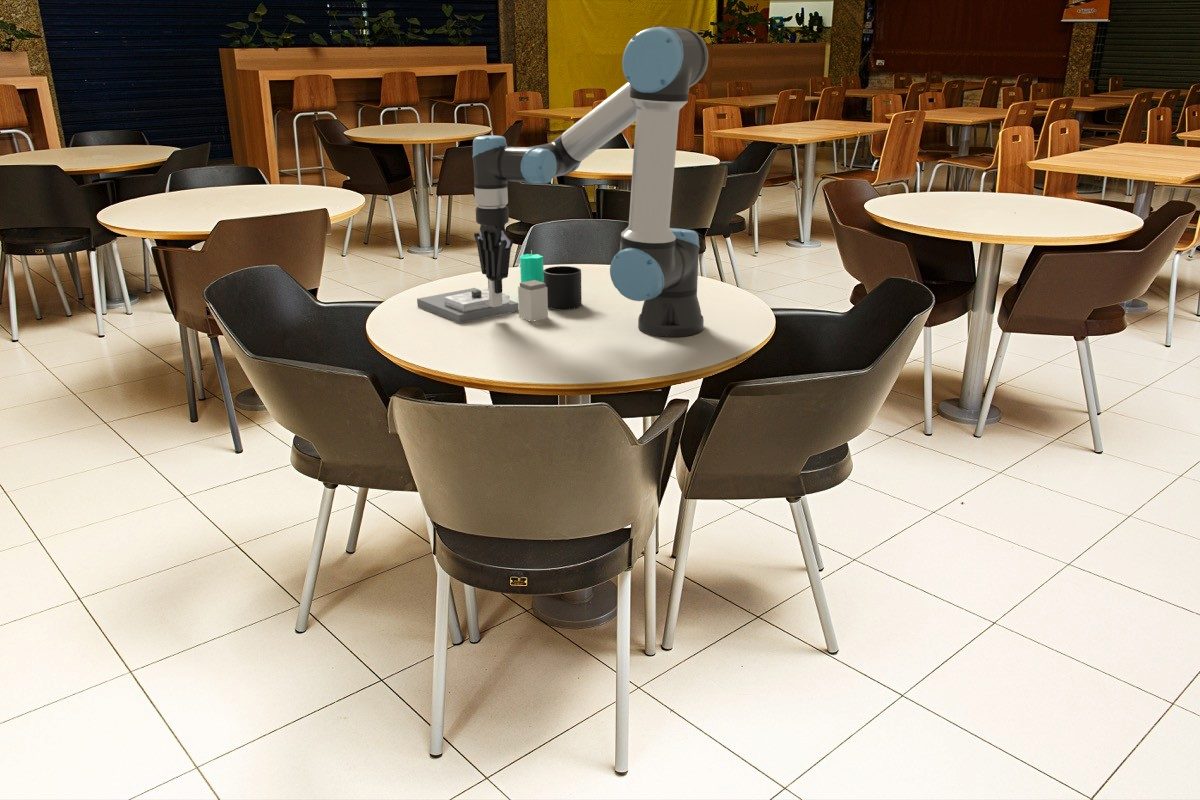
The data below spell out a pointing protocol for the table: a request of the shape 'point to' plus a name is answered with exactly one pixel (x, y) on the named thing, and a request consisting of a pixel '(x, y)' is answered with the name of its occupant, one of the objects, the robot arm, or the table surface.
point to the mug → (563, 287)
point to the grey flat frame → (438, 307)
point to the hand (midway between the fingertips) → (496, 305)
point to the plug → (533, 300)
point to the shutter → (472, 300)
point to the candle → (531, 267)
